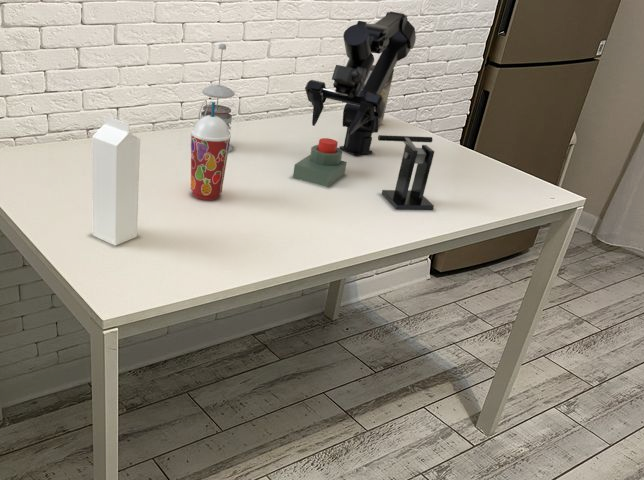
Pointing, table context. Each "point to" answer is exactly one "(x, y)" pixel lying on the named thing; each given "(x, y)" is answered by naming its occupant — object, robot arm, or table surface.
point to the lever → (409, 140)
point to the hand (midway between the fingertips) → (331, 129)
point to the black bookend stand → (414, 197)
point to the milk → (115, 182)
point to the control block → (320, 167)
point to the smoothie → (209, 156)
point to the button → (327, 145)
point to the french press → (217, 92)
